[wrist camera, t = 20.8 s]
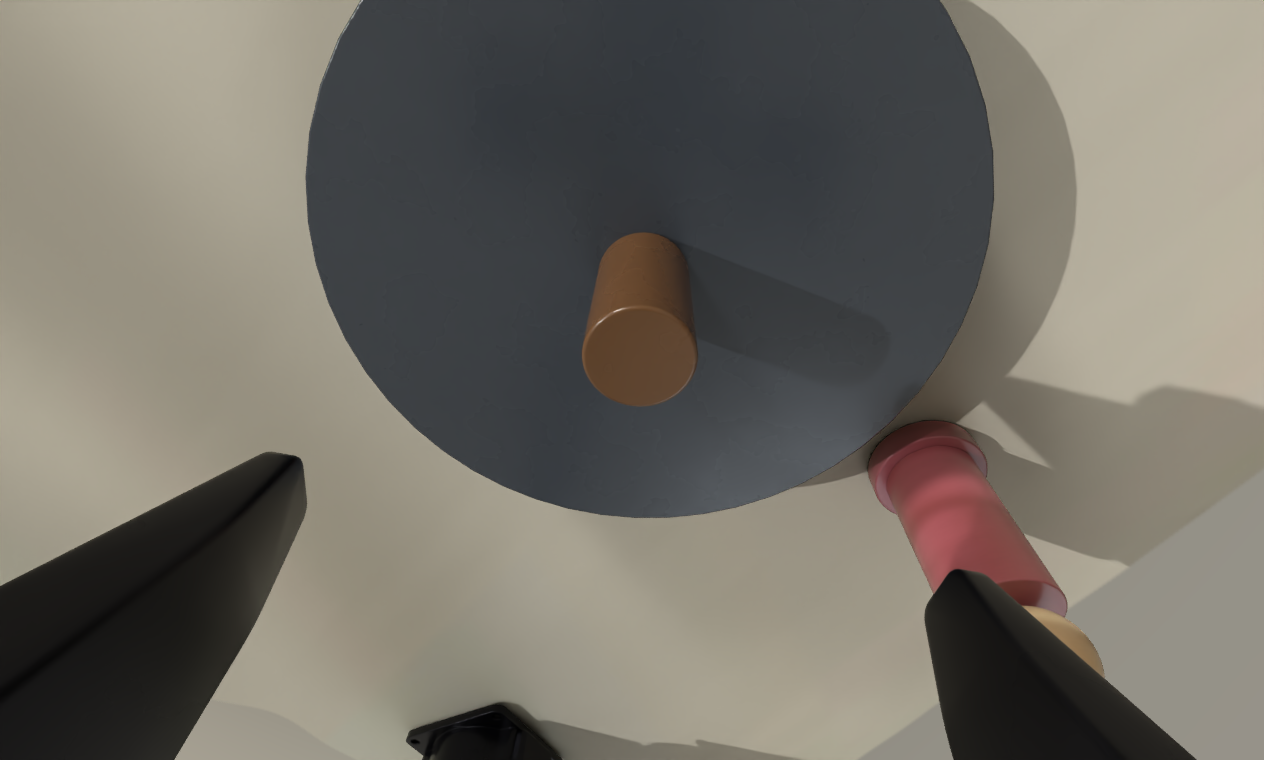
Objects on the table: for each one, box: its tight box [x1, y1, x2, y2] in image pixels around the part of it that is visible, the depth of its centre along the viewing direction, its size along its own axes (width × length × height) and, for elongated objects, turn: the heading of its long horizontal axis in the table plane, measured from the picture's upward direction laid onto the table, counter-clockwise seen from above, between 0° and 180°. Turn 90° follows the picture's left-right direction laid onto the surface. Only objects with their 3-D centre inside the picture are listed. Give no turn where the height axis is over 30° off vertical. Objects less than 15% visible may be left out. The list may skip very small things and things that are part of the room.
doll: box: [868, 421, 1105, 679], centre depth 20 cm, size 4×4×10 cm
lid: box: [306, 0, 994, 518], centre depth 15 cm, size 18×18×6 cm
